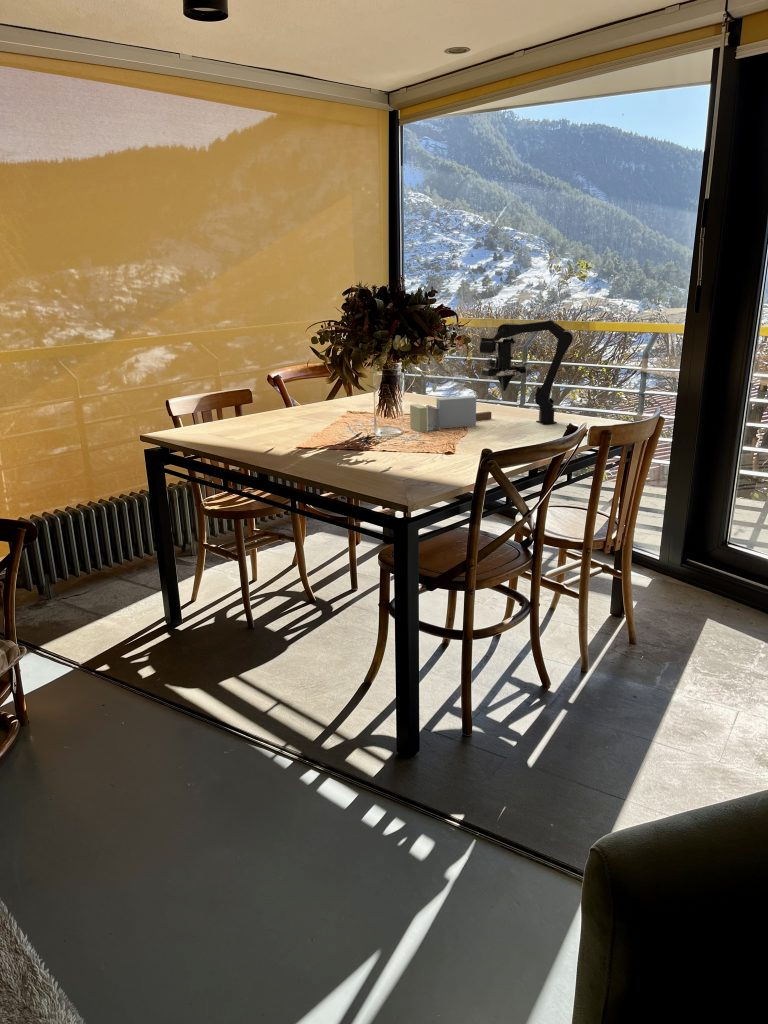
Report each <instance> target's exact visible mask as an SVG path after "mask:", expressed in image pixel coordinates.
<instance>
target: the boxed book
mask: <svg viewBox="0 0 768 1024" xmlns="http://www.w3.org/2000/svg"><path fill="white" fill-rule="evenodd" d="M436 408H438V409H439V429H447V428H460V427H461V428H462V427H473V426H475V427H476V426H477V421H476V413H477V397H476V396H474V395H465V396H463V395H462V396H451V397H450V396H449V397H447V396H446V397H436Z"/></svg>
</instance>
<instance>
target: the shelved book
mask: <svg viewBox="0 0 768 1024" xmlns="http://www.w3.org/2000/svg"><path fill="white" fill-rule="evenodd" d="M409 413H410V414H409V418H410V419H409V420H410V424H409V425H410V430H413V431H415V432H418V433H428V432H429V431H428V407H426V405H424V404H420V403H416V404H410V405H409Z"/></svg>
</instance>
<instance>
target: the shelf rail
mask: <svg viewBox="0 0 768 1024" xmlns="http://www.w3.org/2000/svg"><path fill="white" fill-rule="evenodd" d="M491 419H492V411H489V410H488V411H482V412H481V411H480V412H476V422H477V421H482V420H483V421H485V420H491Z"/></svg>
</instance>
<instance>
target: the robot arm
mask: <svg viewBox="0 0 768 1024" xmlns="http://www.w3.org/2000/svg"><path fill="white" fill-rule="evenodd" d="M543 331H548V332H550V333H551V334H552V335H553V336H554V337H555V338H556V339H557V344H556V349H555V353H554V356H553V359H552V362H551V364H550V366H549V369H548V371H547V373H546V376H545V379H544V382H543V383H542V385H541V384H538V386H537V387H536V388H537V389H536V392H535V394H534V395H533V396H534V397H535V398H534V401H535V404H536V405H537V406H538V407H539V411H538V413H539V414H538V420H536V421H535V422H536V423H539V424H541V425H553V424H557V422H558V421H555V409H554V407H555V404H556V402H555V400H554V399H552V397H551V396H552V390H553V384H554V382H555V379H556V377H557V374H558V372H559V370H560V368H561V364H562V361H563V359H564V356H565V354H566V353H567V351H568V349H569V347H570V346H571V344H572V342H573V341H574V340H575V339H574V338H575V335H574V333H573V331H570V330H569V329H565V328H564V327H562V326H561V325H560V324H558V323H557V322H556V321H555V320H553V319H548V320H542V321H534V322H525V323H514V322H513V323H512V322H505V323H502V324H501V325H499V326H498V327H497V333H496V334H495V335H494V336H493V337H483V336H482V337H481V338H480V343H479V344H480V345H479V353H480V354H482V355H490V354H491V355H494V354H495V352H497V355H496V356H495V359H493V358H488V359H486V367H484V368H483V369H482V370H481V374H482V376H486V377H496V378H497V380H498V382H499V384H500V388H501V390H502V392H506V391H507V388H508V386H509V384H510V383H511V380H512V379H513V377H515V376H516V375H515V374H514V373H516V372H518V373H519V374H526V373H527V367H526V366H525V365H520V364H518V365H512V360H514V356H513V355H512V353H513V352H512V348H513V347H512V346H513V345H512V344H516V343H518V342H517V339H515V338H514V336H517V335H519V334H524V333H525V334H526V333H527V334H528V333H533V332H534V333H535V332H543ZM510 337H511V338H510ZM500 339H503V340H501V341H499V340H500Z"/></svg>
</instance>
